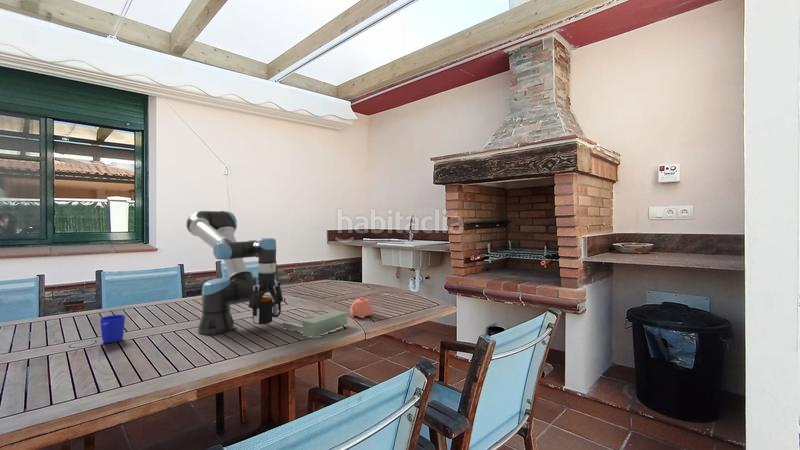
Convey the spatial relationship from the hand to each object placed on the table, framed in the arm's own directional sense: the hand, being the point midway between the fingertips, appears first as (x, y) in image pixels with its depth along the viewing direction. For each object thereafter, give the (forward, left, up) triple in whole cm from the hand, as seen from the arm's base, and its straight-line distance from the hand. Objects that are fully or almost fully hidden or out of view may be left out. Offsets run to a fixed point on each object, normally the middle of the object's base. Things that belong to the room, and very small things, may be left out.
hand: (266, 319), depth 168 cm
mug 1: (-41, -45, -6) cm, 61 cm away
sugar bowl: (+20, +44, -6) cm, 49 cm away
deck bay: (+14, +16, -5) cm, 22 cm away
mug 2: (0, +1, -1) cm, 1 cm away
